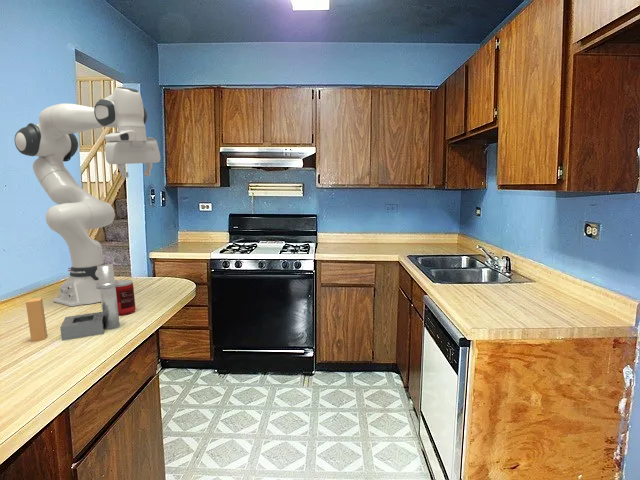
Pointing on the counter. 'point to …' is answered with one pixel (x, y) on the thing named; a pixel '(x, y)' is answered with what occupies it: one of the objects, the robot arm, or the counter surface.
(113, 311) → the grey socket with post
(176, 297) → the counter surface
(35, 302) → the tall orange pillar block
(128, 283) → the canned food
